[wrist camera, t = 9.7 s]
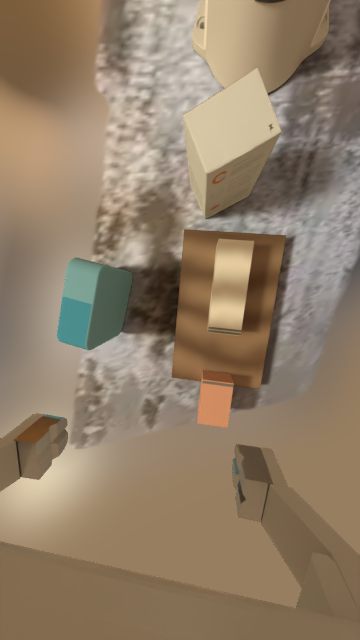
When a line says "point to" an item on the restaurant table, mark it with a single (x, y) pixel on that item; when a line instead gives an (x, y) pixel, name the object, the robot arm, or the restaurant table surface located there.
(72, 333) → the data package
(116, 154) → the restaurant table surface
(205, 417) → the orange rectangular block
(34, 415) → the robot arm
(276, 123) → the small box
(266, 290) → the board
